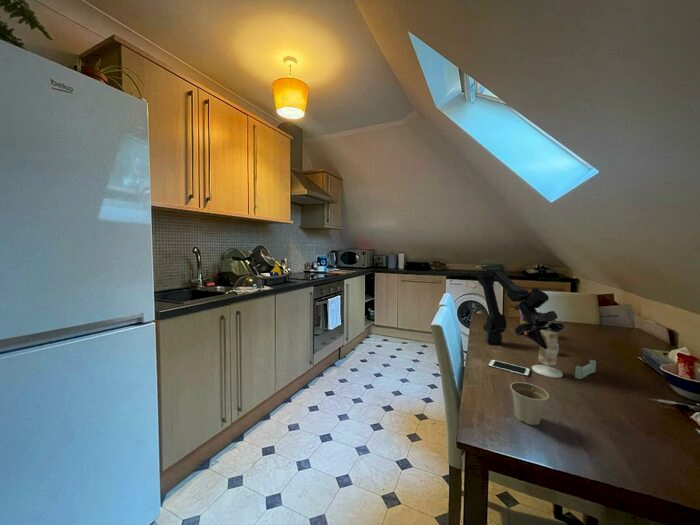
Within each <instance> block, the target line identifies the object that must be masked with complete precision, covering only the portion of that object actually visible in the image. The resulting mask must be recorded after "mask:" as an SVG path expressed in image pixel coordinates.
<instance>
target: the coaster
mask: <svg viewBox="0 0 700 525" xmlns="http://www.w3.org/2000/svg"><path fill="white" fill-rule="evenodd" d="M531 370H532V371H533V372H534V373H535V374H538V375H541V376H543V377H546V378H551V379H552V378H553V379H560V378H562V377H563V375H564V374H563V371H561V370H559V369H557V368H555V367H552V366H550V365H545V364H535V365H532V366H531Z"/></svg>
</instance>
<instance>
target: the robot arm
mask: <svg viewBox="0 0 700 525" xmlns="http://www.w3.org/2000/svg"><path fill="white" fill-rule="evenodd" d="M476 279H477V281H478V283H479V284H480V285H481V287H482V289H483V294H484V299H485V303H486V306H487V311H488V315H487V316H486V323H485V324H483V326H482V328H483V331H484V332H486V333H485V335H486V336H485V339H484V341H485V342H486V343H487V344H488V345H494V346H495V345H496V346H503V334H502V333H505V330H506V328H507V320H506V316H505V314H502V313H501V312H500V309H499V305H498V301H497V298H496V293H495V289H494V284H495V281H496V282H498V284H500V286H501V287H502V288H503V289H504V290H505V291H506V295H507V297H508V298H509V300H510V301H511V302H513V303H515V302H517V303H515V307H514V310H515V311H519V313H520V312H521V313H522V315H523V317H524V319H523V321H526V322H527V323H524V324H520V323H519V325H518V326H517V327H516V328H514V332H515V334H516V335H517V336H523V335H524V331H526V332H527V335H526V336H525V337H526V338H529V339H530V340H532V341H533V342H535V343H536V344H538V345H539V346H541V347H543V348H544V349H547V346H546V344H545V342H544V340H543V338H542V337H541V335H540V330H551V331H554V332H557V333H558V334H559V332H561V331H562V330H563V329H565V326H564V324H563V323H562V322H558V321H557V322H556V320H557V319H558V314H557V313H556V312H555V310H550V311H547V312H538V310H537V309H539V308H541V307H542V306H543V305H544V304H546V303H547V302H548V301H549V298H550V297H549V295H548V294H547V293H546V292H545V291H542V290H540V289H539V288H537V287H536V288H535V287H534V288H532V289H531V291H530V292H529V291H528V290H527V289H526V288H524V287H523V286H520V285H518V284H516V283H515V282H513V281H512V279H510V278H509V277H508V276H507V275H506V274H505V273H504V272H503V270H502V269H501V268H490V269H487V270H486V269H483V270H482V269H479V270H478V271H477V273H476ZM554 321H555V322H554ZM549 322H551V323H550V324H549Z"/></svg>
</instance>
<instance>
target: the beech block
mask: <svg viewBox="0 0 700 525" xmlns="http://www.w3.org/2000/svg"><path fill="white" fill-rule="evenodd" d="M540 335H541V337H542V338H543V340H544V342H545V344H546V346H547V349H544V348H543V347H541V346H540V345H539V348H538V362H539V363H542V365H544V366H557V356H558V355H557V344H558V341H559V340H558V338H559V332H558V333H557V332H554V331H551V330H540Z"/></svg>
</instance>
